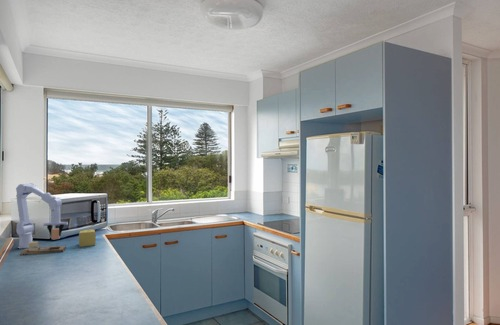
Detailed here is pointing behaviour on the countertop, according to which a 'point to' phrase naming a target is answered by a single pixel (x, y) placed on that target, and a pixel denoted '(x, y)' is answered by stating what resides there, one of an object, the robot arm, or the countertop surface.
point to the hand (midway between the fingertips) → (55, 236)
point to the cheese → (87, 237)
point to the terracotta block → (55, 233)
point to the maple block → (33, 246)
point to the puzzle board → (44, 250)
